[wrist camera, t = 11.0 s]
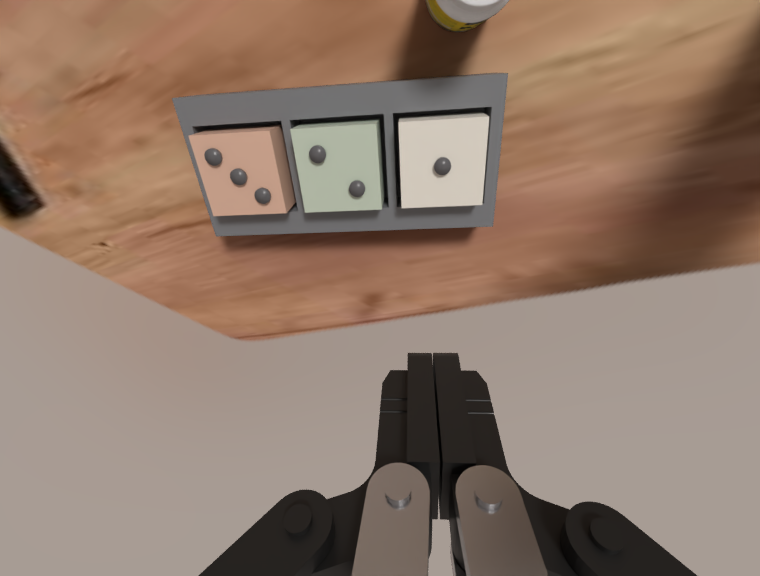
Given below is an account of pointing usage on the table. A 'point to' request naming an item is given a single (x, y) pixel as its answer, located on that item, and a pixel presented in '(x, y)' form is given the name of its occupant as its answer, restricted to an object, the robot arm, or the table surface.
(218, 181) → the tile three
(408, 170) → the tile one
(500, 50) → the table surface
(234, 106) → the well board
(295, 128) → the tile two
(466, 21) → the supplement bottle
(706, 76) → the table surface
